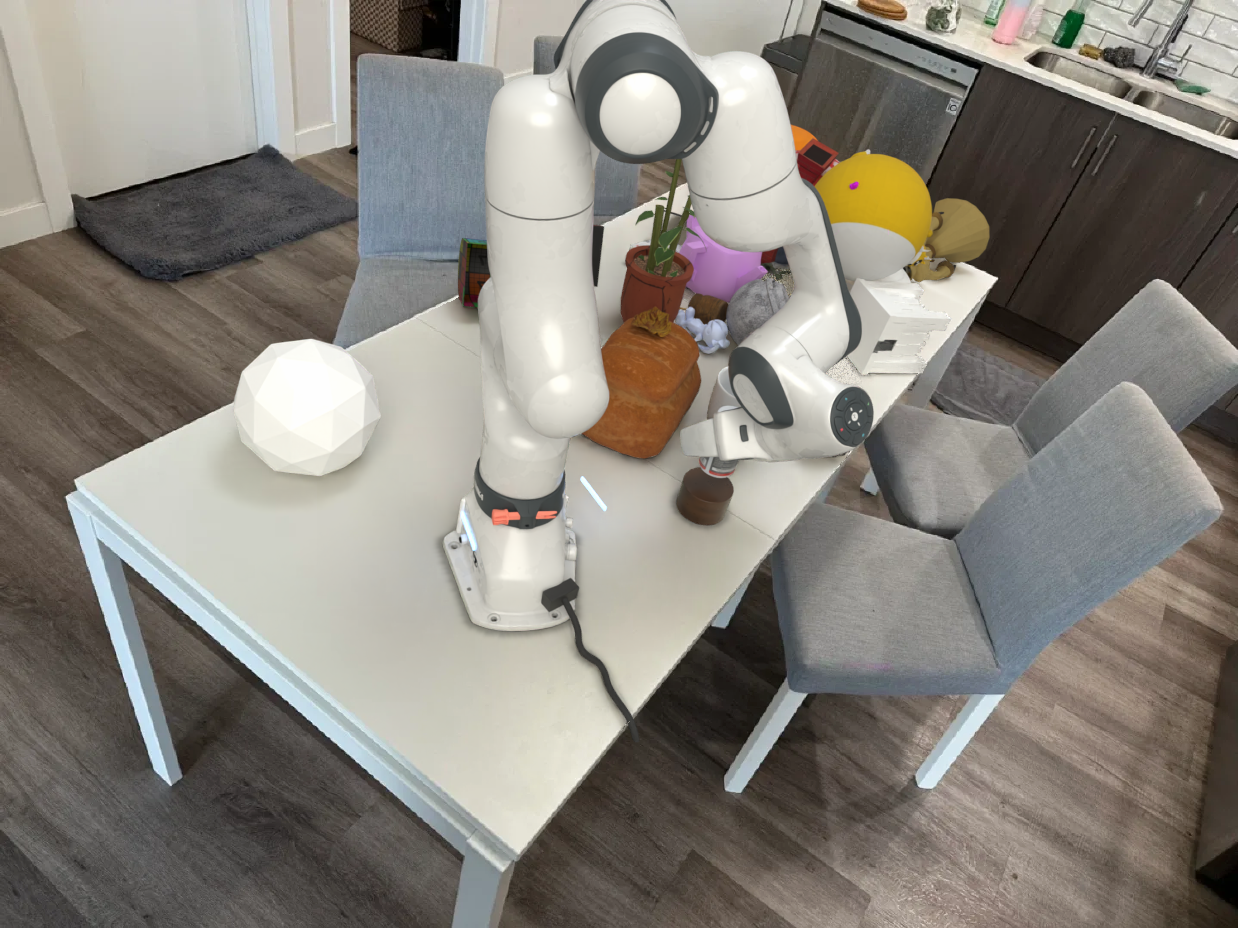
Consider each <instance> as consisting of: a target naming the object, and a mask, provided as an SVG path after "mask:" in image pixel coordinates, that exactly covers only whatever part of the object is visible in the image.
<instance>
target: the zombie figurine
mask: <svg viewBox="0 0 1238 928" xmlns="http://www.w3.org/2000/svg"><path fill="white" fill-rule="evenodd" d="M761 266H763V267H764V268H765V269H766V270H767V271H768V272H767V273H769V274H770V275H774V278H775V280H776V281H779V280H782V279H783V277H784V276H783V275H789V274H790V275H792V273H791V270H790V267H789V264H788V265H786V266H783V265H780V264H777V263H775V262H771V263H763V264H761ZM779 269H783V270H779ZM788 269H789V270H788Z"/></svg>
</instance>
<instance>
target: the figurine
mask: <svg viewBox="0 0 1238 928" xmlns="http://www.w3.org/2000/svg"><path fill="white" fill-rule="evenodd" d="M929 230H932V232H933V235H932V236H931V237H927V238H926V240H925V243H924V246H925V248H926V250H931V251H928V252H926V256H927V257H928V256H929V258H930V259H932V261H927V260H924V262H925V264H922V263H919V265H916V266H912V267H908V266H905V267H903V269H904V271H905V272H906V273H907V275H908V277H909V279H910V281H911V282H912V280H914V282H915V283H922V282H923V281H938V280H941V279H945V278H950V277H951V276H953V275H954V273H955V269H956V267H957V264H958V263H959V264H960V263H965V262H969V261H973V260H975V259H976V258H979V257H980V256H981V255H982V254H983V253H984V252H985V251H986V250H987V247H988V243H989V240H990V225H989V223H988V221H987V219H986V217H985V215H984V214H983V213H982V211H980V210H979V208H978V207H977V206H976V205H974V204H973V203H971V202H970V201H968V200H965V199H960V198H948V197H947V198H944V199H940V200H938V201H936V202H935V205H934V208H933V212H932V219H931V226H930V229H929ZM935 259H944V260H943V261H940V262H939V263H938V264H937V265H936V268H935V270H933V269H931V268H930V267H931V263H935V261H936V260H935Z"/></svg>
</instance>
